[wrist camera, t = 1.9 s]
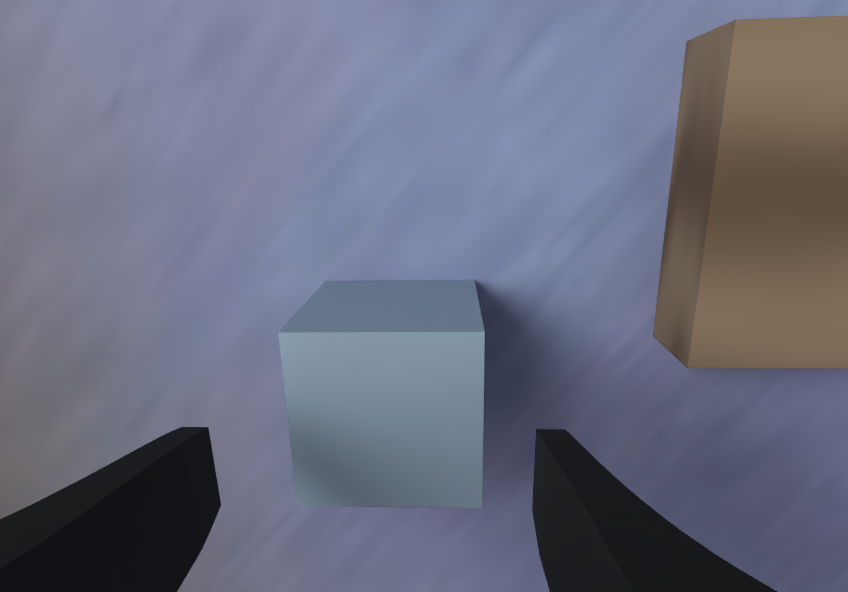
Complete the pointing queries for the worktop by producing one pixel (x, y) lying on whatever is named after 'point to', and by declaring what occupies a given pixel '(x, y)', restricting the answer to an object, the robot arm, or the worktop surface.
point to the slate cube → (386, 394)
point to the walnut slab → (759, 199)
